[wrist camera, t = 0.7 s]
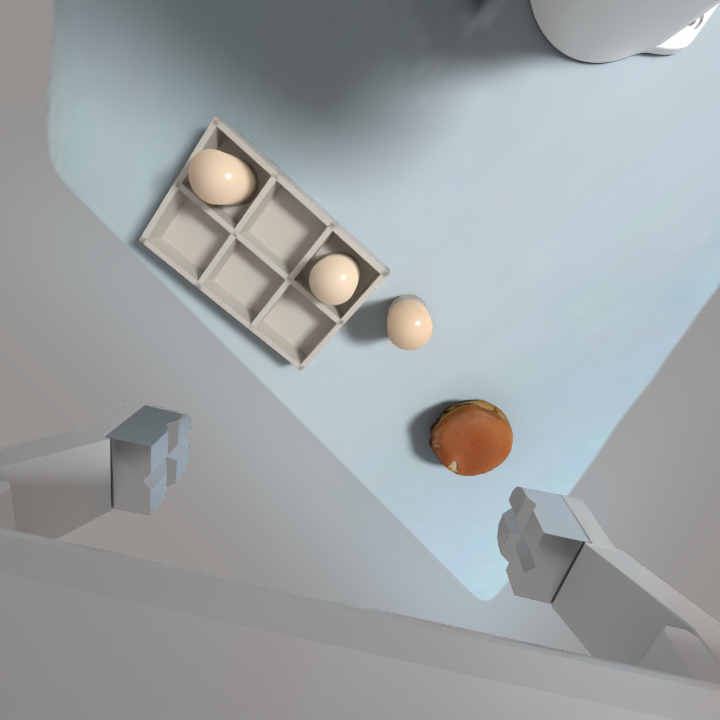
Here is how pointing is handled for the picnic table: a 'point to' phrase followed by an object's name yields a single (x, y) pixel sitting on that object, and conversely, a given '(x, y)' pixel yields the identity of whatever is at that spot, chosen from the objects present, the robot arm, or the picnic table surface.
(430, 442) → the burger
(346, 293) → the egg
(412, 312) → the egg
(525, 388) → the picnic table surface
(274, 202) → the carton
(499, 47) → the picnic table surface
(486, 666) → the robot arm
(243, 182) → the egg
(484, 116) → the picnic table surface
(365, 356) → the picnic table surface
